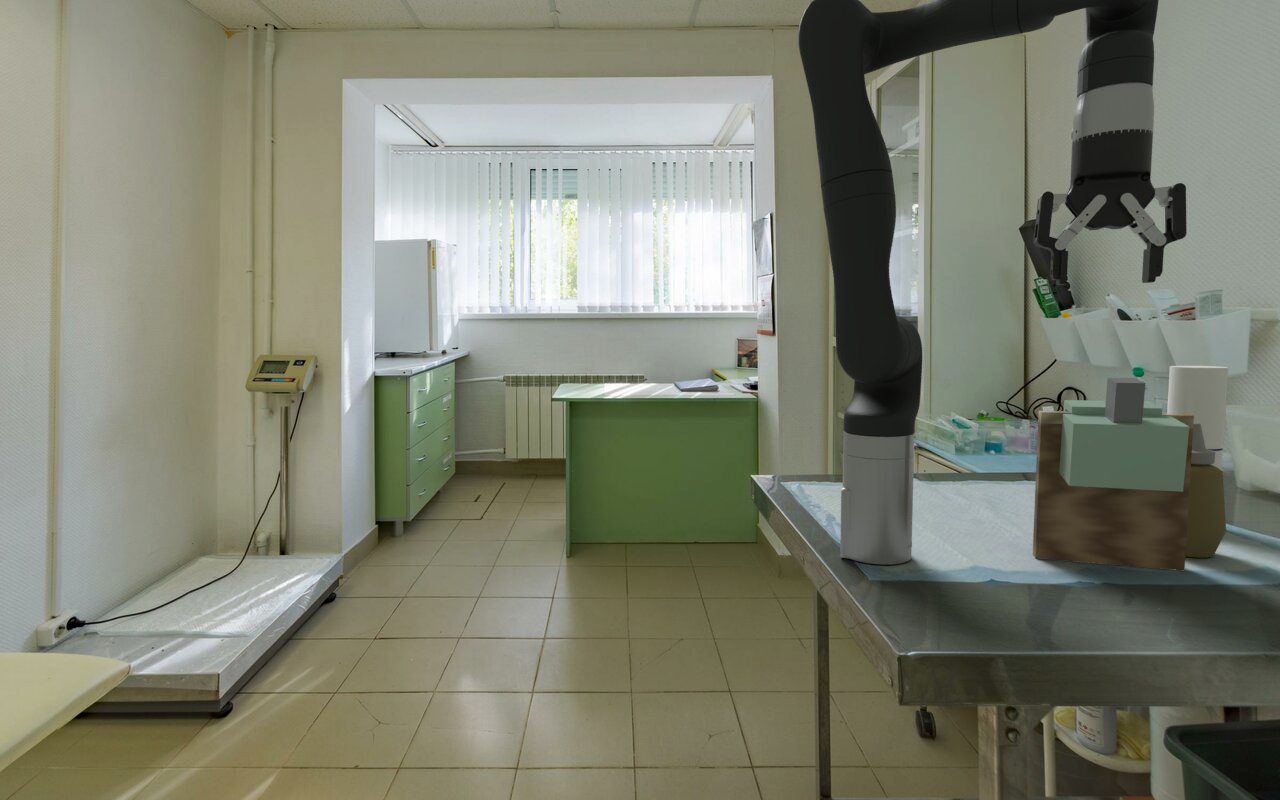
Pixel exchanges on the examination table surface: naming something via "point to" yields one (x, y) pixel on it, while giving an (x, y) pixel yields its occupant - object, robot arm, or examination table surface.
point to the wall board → (1106, 512)
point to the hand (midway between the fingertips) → (1104, 283)
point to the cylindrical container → (1201, 401)
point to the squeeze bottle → (1204, 501)
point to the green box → (1122, 442)
